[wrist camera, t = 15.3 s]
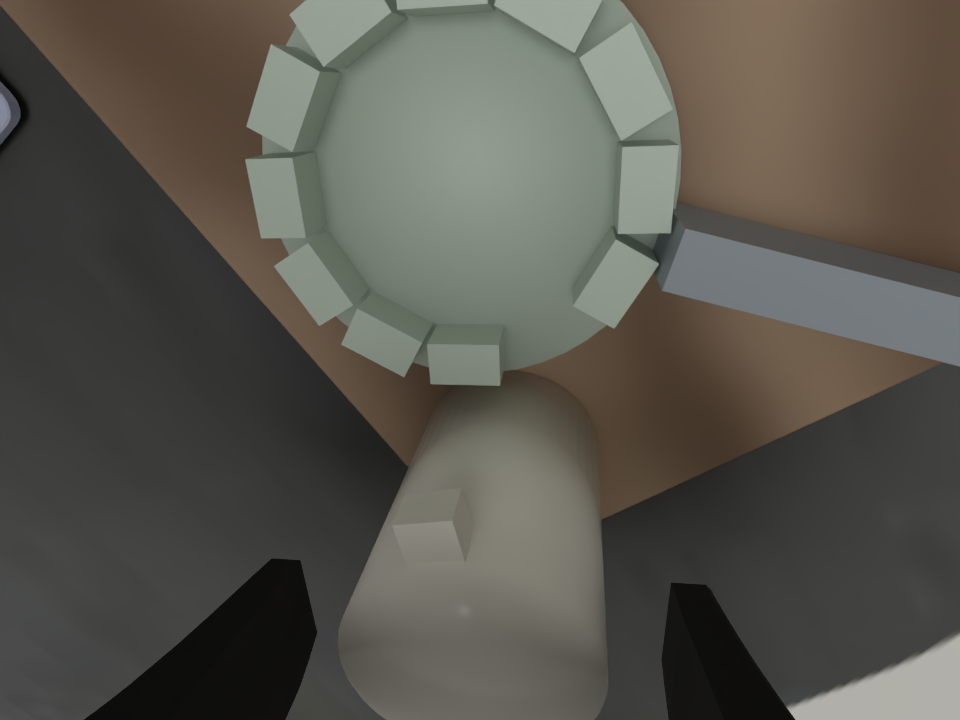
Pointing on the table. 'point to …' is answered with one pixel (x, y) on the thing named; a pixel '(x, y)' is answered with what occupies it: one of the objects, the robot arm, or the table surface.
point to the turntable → (523, 193)
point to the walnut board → (703, 184)
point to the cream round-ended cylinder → (488, 567)
